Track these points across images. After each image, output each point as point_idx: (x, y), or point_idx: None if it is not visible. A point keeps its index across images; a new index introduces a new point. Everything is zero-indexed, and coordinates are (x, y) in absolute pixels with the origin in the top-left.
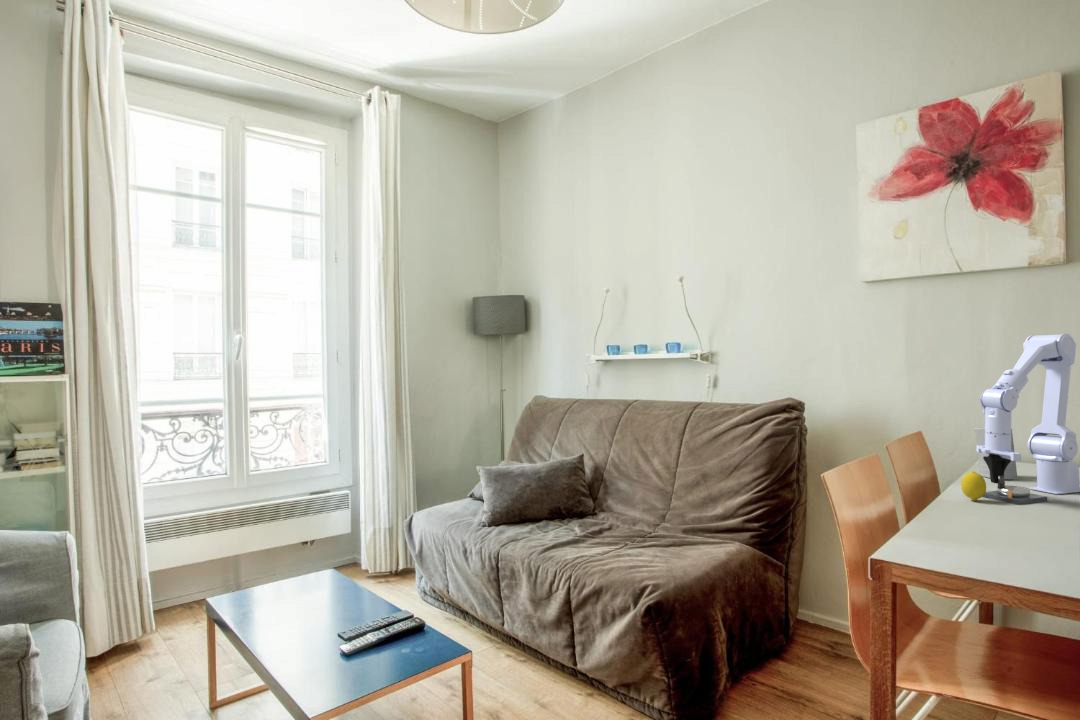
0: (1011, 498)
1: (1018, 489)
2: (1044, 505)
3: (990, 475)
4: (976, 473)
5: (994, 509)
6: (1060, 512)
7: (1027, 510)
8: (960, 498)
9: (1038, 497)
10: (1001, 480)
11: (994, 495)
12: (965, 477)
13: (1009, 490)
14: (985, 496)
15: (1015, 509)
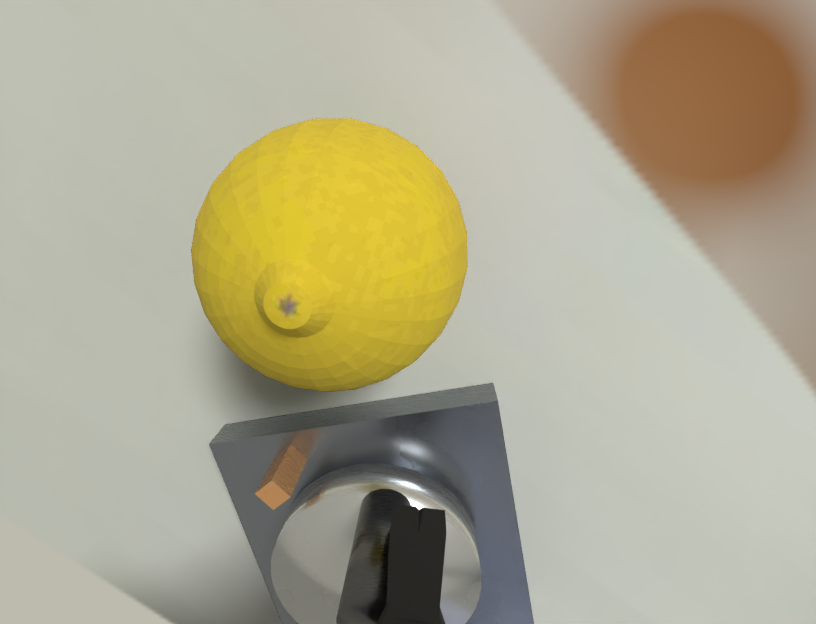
0: (260, 443)
1: (323, 578)
2: (201, 538)
3: (435, 561)
4: (252, 321)
5: (80, 175)
6: (29, 491)
7: (65, 367)
8: (481, 187)
9: (274, 595)
10: (351, 562)
11: (385, 417)
12: (304, 144)
13: (280, 497)
14: (460, 392)
15: (89, 318)
